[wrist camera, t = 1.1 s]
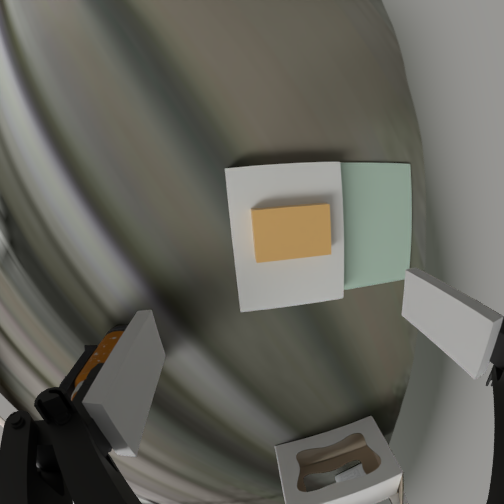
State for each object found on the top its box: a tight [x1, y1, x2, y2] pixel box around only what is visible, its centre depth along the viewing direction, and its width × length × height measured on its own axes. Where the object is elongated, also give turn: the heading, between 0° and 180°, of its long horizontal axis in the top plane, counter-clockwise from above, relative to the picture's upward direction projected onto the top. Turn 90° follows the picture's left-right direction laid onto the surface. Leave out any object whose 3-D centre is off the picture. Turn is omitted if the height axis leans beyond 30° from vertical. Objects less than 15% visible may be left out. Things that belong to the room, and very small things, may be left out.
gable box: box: [275, 416, 408, 504], centre depth 36 cm, size 22×13×28 cm, turn 104°
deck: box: [225, 162, 344, 312], centre depth 35 cm, size 18×14×3 cm
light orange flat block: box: [251, 203, 331, 263], centre depth 32 cm, size 9×6×2 cm, turn 95°
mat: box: [340, 163, 412, 290], centre depth 37 cm, size 18×12×1 cm, turn 5°
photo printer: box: [335, 463, 367, 482], centre depth 48 cm, size 10×4×12 cm, turn 124°
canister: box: [59, 325, 127, 452], centre depth 29 cm, size 9×11×20 cm
